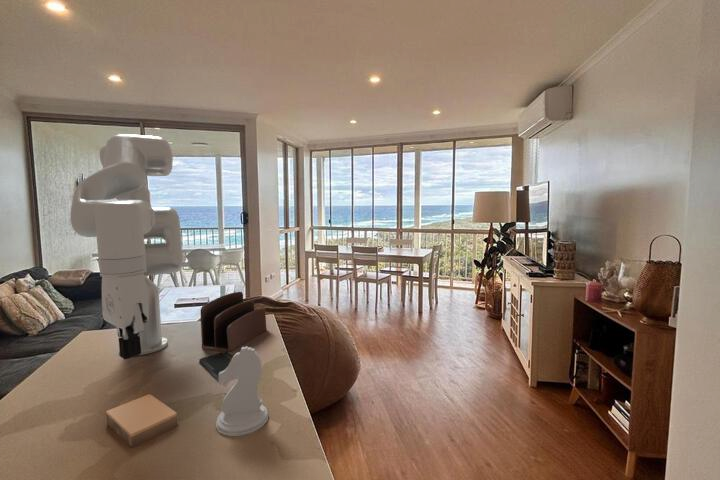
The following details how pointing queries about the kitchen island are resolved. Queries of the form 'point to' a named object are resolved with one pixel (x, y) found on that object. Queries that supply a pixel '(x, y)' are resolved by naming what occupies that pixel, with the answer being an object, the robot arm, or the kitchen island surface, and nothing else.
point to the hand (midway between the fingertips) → (130, 355)
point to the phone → (216, 363)
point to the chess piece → (242, 395)
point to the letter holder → (230, 322)
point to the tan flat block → (141, 419)
